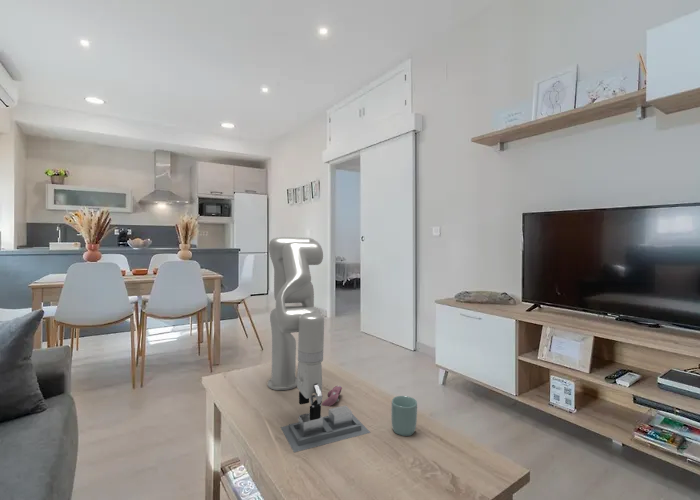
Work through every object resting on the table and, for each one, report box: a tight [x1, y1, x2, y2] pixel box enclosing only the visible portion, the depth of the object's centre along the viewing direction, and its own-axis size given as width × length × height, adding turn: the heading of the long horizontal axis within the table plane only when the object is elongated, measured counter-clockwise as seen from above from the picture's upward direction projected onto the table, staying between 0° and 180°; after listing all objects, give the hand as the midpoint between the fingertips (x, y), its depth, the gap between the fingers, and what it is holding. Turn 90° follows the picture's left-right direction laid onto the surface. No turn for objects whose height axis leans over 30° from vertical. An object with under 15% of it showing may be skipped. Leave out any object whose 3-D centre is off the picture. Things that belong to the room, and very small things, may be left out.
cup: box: [390, 395, 418, 437], centre depth 108 cm, size 8×8×10 cm
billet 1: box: [298, 412, 324, 438], centre depth 105 cm, size 4×6×5 cm
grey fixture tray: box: [280, 413, 371, 453], centre depth 107 cm, size 14×24×2 cm, turn 116°
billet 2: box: [328, 405, 353, 430], centre depth 109 cm, size 4×6×5 cm
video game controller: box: [321, 385, 343, 407], centre depth 127 cm, size 10×5×7 cm, turn 170°
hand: (309, 410), depth 105 cm, fingers open, 9 cm apart
